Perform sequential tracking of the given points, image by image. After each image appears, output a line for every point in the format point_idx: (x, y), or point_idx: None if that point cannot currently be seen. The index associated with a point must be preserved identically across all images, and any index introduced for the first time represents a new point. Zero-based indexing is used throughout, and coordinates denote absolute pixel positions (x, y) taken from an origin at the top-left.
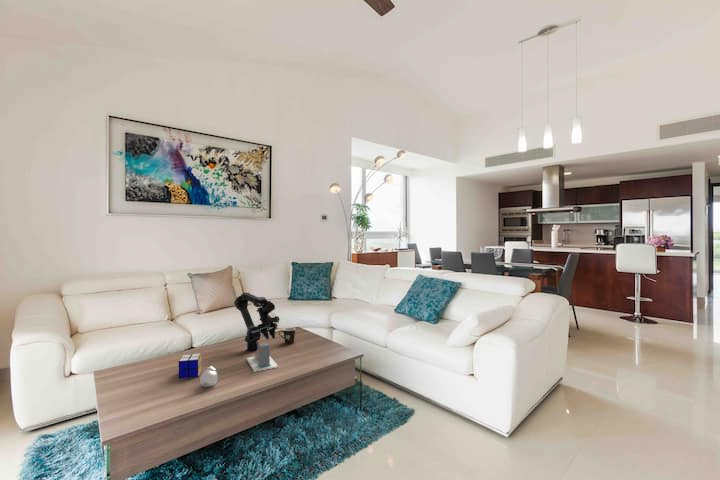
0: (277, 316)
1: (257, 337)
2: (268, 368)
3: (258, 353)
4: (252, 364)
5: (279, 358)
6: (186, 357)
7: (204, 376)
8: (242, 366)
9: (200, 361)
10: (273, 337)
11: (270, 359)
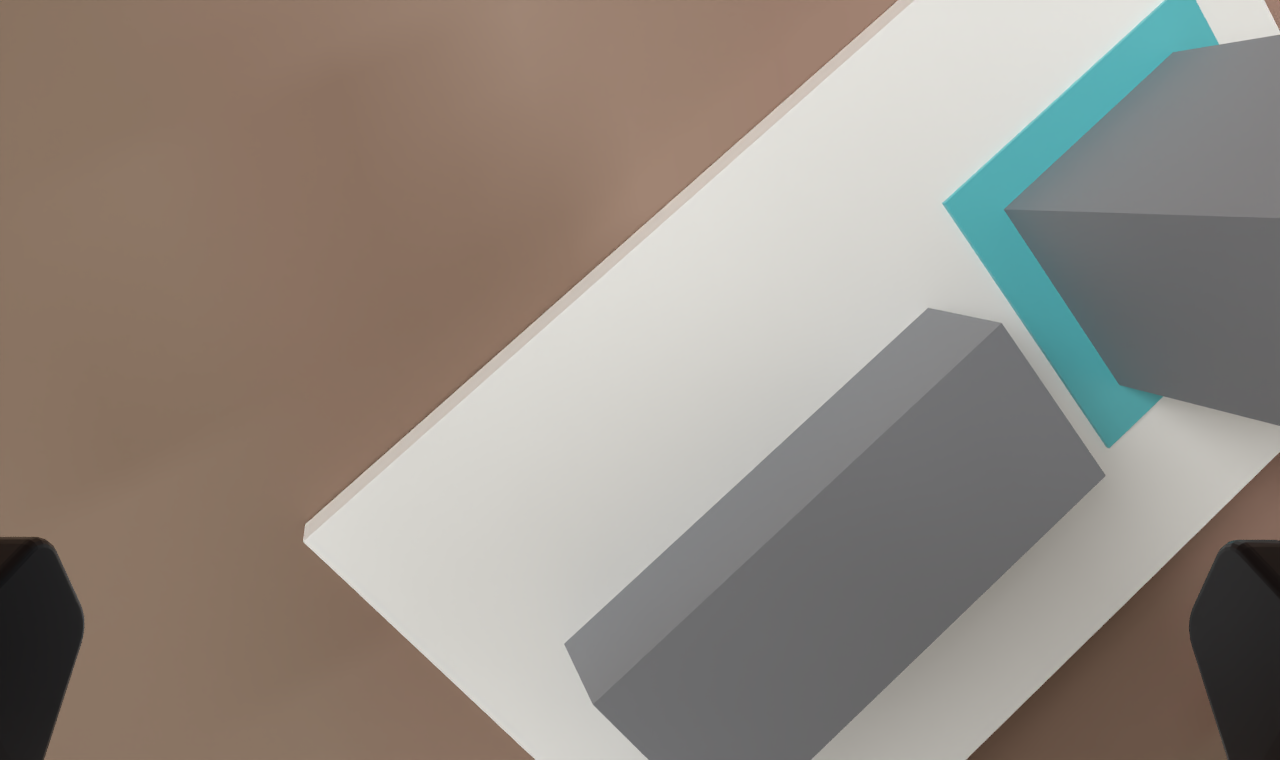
0: None
1: None
2: (1258, 29)
3: (692, 755)
4: (1130, 548)
5: (451, 38)
6: None
7: None
8: (1133, 742)
9: None
10: (18, 681)
11: (742, 242)
